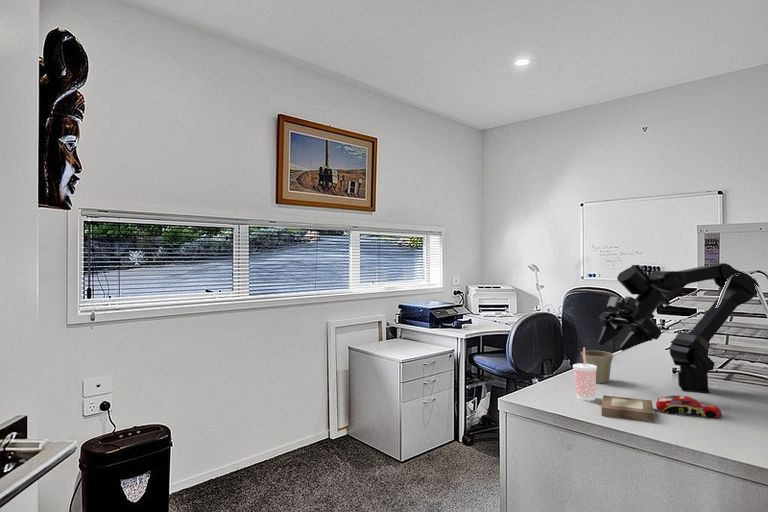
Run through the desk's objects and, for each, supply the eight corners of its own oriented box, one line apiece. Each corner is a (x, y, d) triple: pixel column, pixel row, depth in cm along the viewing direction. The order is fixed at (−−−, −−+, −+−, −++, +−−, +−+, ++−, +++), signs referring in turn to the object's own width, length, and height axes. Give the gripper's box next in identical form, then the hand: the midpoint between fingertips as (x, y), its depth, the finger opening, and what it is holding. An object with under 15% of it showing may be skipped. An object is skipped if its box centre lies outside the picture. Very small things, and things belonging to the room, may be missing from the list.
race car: (719, 414, 109) (718, 397, 109) (723, 421, 104) (722, 404, 104) (655, 407, 115) (655, 391, 115) (657, 413, 110) (656, 397, 110)
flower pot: (621, 384, 136) (619, 356, 136) (589, 385, 136) (588, 356, 136) (606, 376, 145) (605, 350, 145) (577, 377, 145) (576, 351, 145)
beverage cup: (578, 394, 127) (577, 344, 127) (601, 398, 123) (599, 347, 123) (570, 399, 123) (568, 348, 123) (593, 403, 119) (591, 350, 119)
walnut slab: (651, 408, 113) (651, 399, 113) (654, 422, 104) (653, 413, 104) (603, 402, 119) (603, 395, 119) (601, 415, 109) (601, 407, 109)
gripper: (603, 285, 135) (571, 323, 133) (649, 287, 117) (612, 331, 115) (628, 310, 136) (596, 348, 134) (677, 316, 118) (641, 361, 116)
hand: (609, 346), depth 125 cm, fingers open, 9 cm apart
